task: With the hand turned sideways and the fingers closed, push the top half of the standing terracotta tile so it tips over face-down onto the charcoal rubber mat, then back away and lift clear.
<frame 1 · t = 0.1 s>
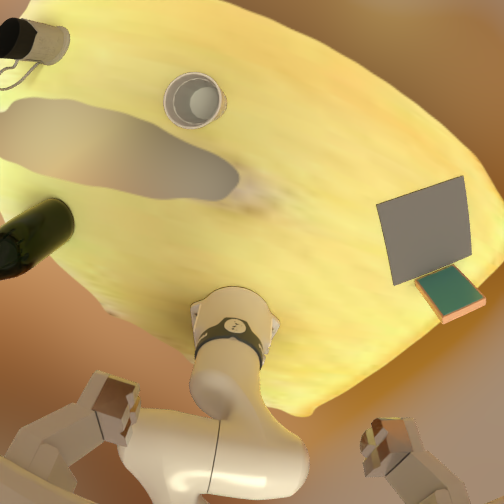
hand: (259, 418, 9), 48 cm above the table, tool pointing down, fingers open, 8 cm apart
cup: (208, 103, 49), on the table
tile: (435, 275, 60), on the table
dark green bottle: (57, 220, 59), on the table
mat: (429, 231, 56), on the table
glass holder: (49, 57, 45), on the table
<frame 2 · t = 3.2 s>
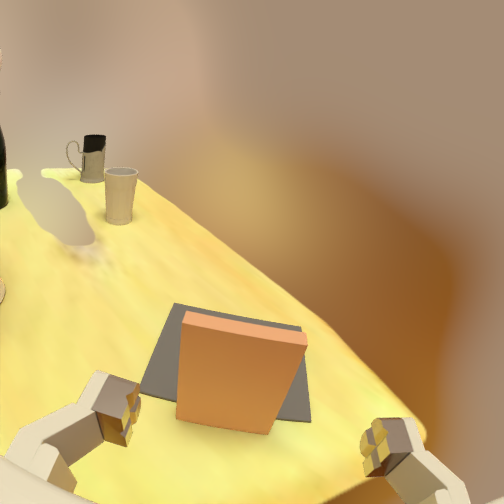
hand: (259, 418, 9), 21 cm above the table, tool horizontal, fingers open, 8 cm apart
cup: (118, 220, 72), on the table
tile: (222, 422, 31), on the table
mat: (231, 357, 40), on the table
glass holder: (84, 180, 94), on the table
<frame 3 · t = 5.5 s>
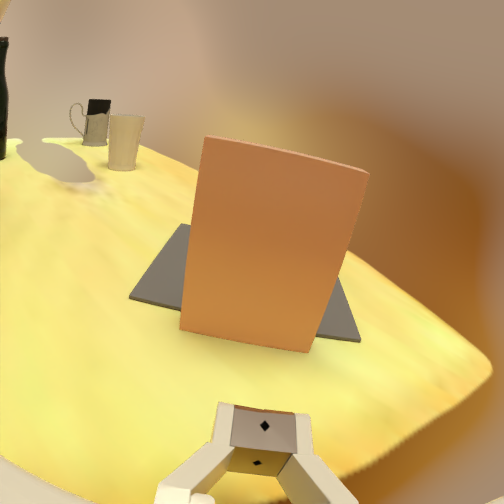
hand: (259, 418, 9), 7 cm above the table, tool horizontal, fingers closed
cup: (121, 168, 65), on the table
tile: (245, 336, 24), on the table
mat: (252, 272, 34), on the table
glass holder: (86, 145, 88), on the table
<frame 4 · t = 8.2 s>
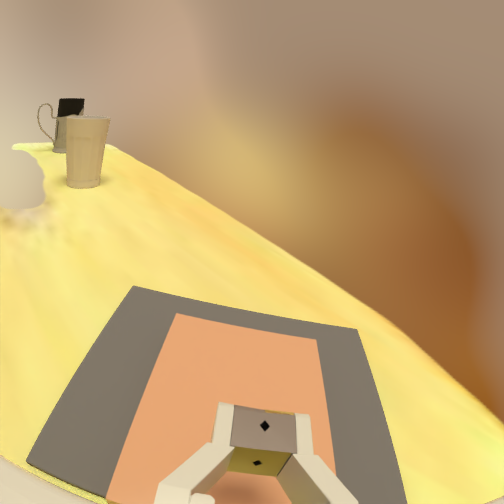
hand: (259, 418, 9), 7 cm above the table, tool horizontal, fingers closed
cup: (83, 184, 50), on the table
mat: (236, 394, 18), on the table
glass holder: (57, 151, 73), on the table
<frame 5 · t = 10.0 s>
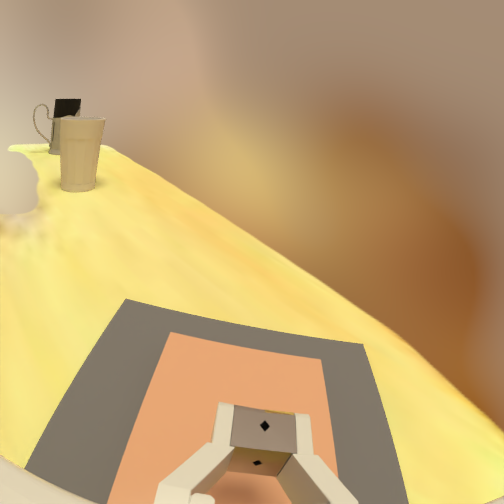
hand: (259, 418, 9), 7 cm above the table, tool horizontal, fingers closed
cup: (77, 188, 48), on the table
mat: (235, 420, 17), on the table
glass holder: (54, 153, 71), on the table
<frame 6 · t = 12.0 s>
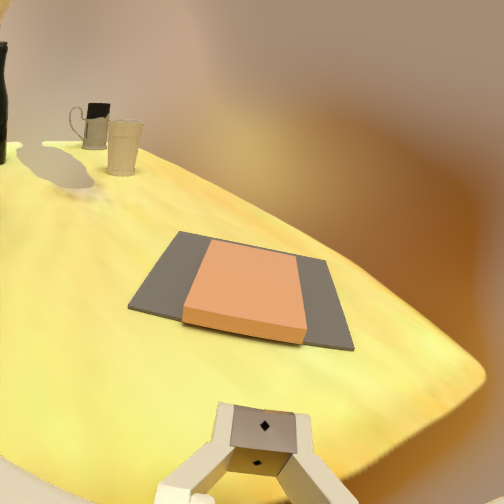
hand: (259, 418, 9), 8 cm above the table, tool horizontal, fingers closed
cup: (120, 173, 66), on the table
tile: (244, 326, 25), point 1 cm above the table, tilted 90°, touching mat
mat: (248, 281, 34), on the table
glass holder: (86, 148, 89), on the table
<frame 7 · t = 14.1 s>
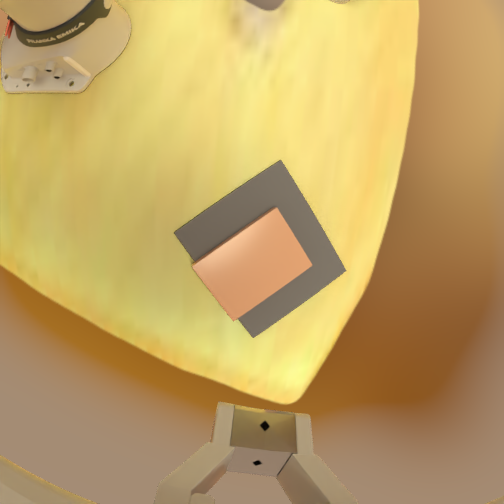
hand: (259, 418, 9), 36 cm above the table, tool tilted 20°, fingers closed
tile: (212, 293, 45), point 1 cm above the table, tilted 90°, touching mat
mat: (266, 252, 46), on the table
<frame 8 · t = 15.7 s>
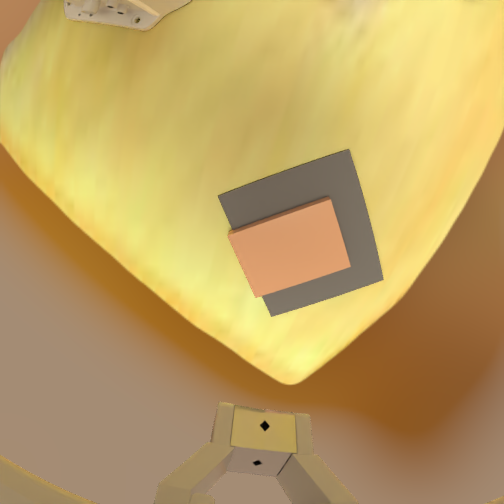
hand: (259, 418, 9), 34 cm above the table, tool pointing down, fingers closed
tile: (242, 265, 44), point 1 cm above the table, tilted 90°, touching mat
mat: (308, 239, 43), on the table
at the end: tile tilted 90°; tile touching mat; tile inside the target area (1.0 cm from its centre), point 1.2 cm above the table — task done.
